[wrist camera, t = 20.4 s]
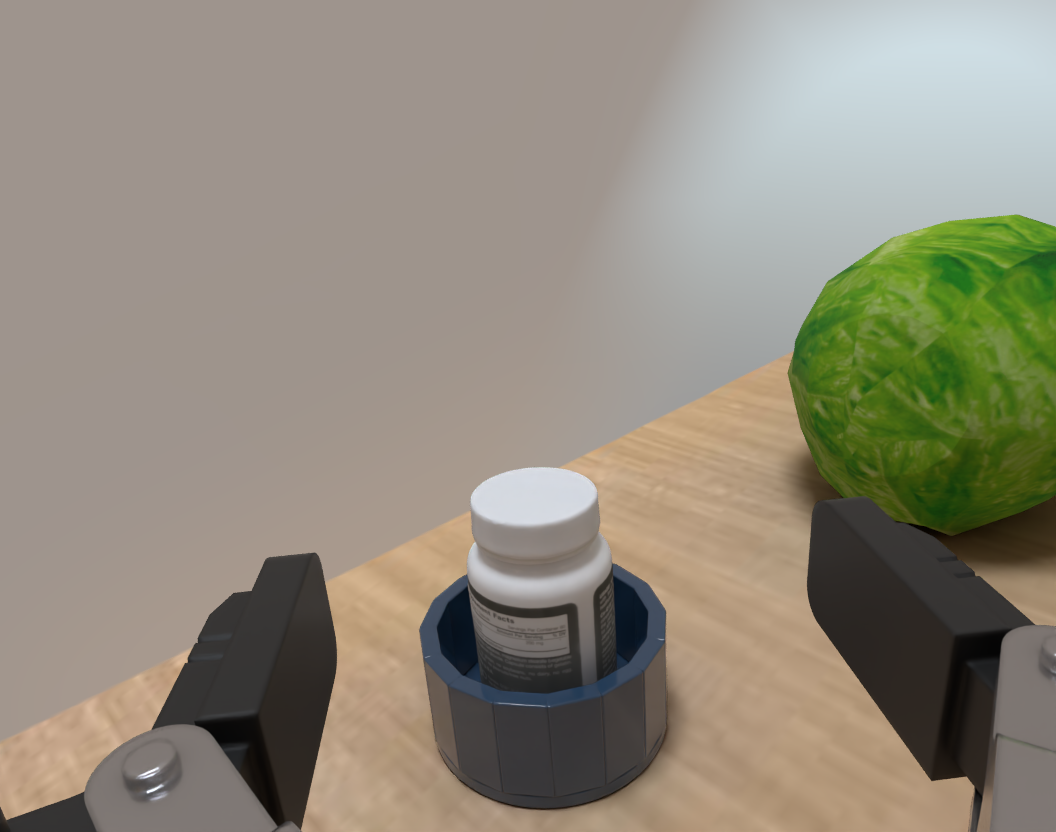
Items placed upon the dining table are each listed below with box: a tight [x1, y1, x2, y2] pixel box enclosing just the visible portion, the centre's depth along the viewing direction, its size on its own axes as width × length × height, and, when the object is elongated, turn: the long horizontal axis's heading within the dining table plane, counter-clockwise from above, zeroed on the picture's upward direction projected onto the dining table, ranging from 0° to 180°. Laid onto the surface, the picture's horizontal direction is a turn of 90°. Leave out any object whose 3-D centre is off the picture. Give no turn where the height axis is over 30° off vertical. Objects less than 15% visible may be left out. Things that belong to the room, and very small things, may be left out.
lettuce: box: [788, 215, 1056, 536], centre depth 39 cm, size 15×22×15 cm
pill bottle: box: [467, 467, 617, 694], centre depth 25 cm, size 5×5×8 cm
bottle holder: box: [419, 563, 667, 808], centre depth 26 cm, size 8×8×4 cm
